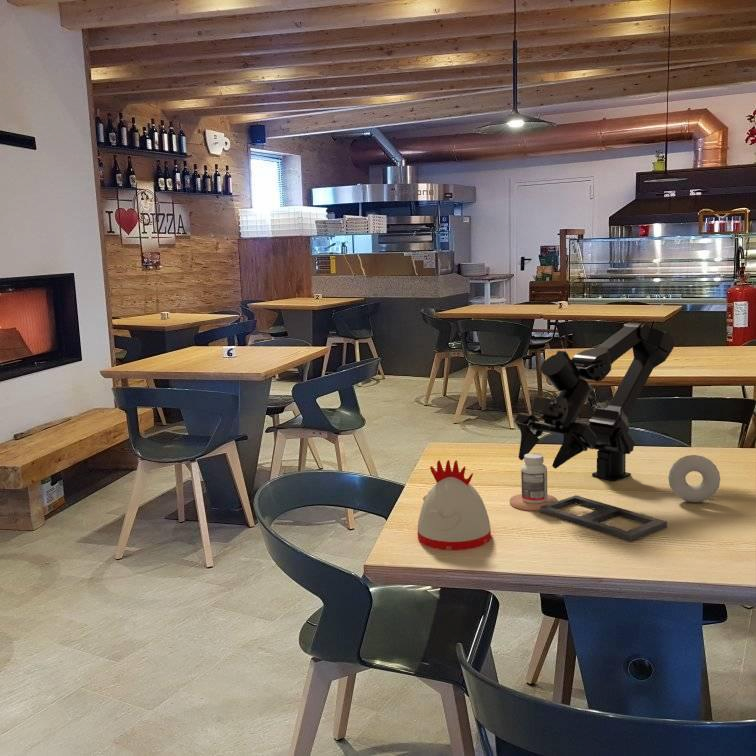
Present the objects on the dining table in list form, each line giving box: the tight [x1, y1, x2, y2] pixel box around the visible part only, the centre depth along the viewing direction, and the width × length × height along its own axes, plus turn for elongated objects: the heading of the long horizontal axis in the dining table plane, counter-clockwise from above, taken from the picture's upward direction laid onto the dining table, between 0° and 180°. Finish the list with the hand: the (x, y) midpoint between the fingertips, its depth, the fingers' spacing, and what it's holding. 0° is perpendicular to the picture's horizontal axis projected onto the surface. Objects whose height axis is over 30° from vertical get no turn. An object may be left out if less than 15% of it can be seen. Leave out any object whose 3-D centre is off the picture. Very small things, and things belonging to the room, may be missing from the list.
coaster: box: [509, 493, 559, 512], centre depth 169 cm, size 10×10×1 cm
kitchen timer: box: [417, 459, 492, 551], centre depth 151 cm, size 14×14×15 cm
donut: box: [667, 454, 721, 504], centre depth 164 cm, size 10×4×10 cm, turn 74°
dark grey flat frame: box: [539, 494, 668, 543], centre depth 157 cm, size 11×22×1 cm, turn 36°
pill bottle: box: [520, 452, 548, 504], centre depth 168 cm, size 5×5×10 cm
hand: (536, 463), depth 168 cm, fingers open, 9 cm apart
